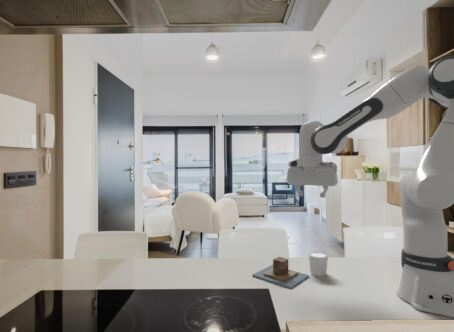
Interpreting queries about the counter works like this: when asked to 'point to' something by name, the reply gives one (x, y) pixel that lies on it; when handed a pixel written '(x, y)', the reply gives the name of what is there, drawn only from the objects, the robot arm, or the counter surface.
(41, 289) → the counter surface
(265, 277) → the mat
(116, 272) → the counter surface
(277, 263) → the brown wooden pedestal
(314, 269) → the shot glass
